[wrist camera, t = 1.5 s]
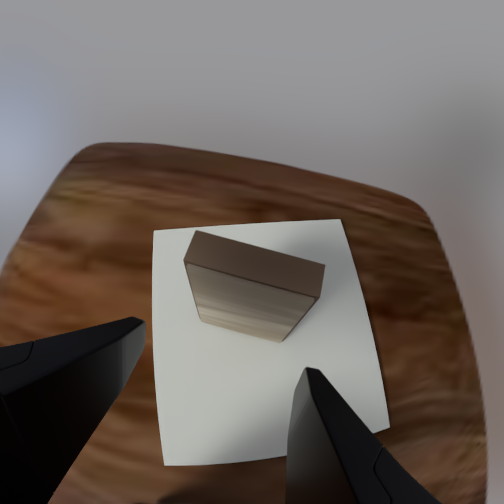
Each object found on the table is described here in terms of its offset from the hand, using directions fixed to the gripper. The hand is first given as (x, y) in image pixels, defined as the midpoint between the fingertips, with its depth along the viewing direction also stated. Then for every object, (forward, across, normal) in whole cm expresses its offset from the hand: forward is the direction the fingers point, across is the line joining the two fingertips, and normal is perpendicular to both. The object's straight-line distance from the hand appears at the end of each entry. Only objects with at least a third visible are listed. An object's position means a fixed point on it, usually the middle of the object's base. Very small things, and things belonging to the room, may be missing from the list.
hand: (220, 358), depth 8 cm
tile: (+12, 0, +5) cm, 13 cm away
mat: (+12, -2, +6) cm, 14 cm away
